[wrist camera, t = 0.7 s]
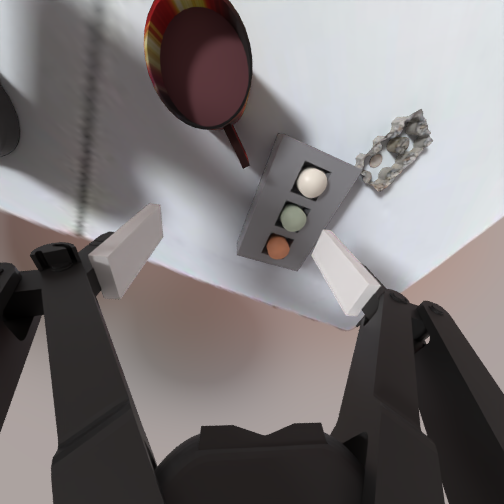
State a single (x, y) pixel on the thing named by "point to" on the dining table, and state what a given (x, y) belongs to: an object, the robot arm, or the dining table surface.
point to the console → (293, 201)
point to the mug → (200, 63)
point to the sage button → (292, 217)
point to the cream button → (311, 182)
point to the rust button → (277, 246)
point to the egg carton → (396, 149)
